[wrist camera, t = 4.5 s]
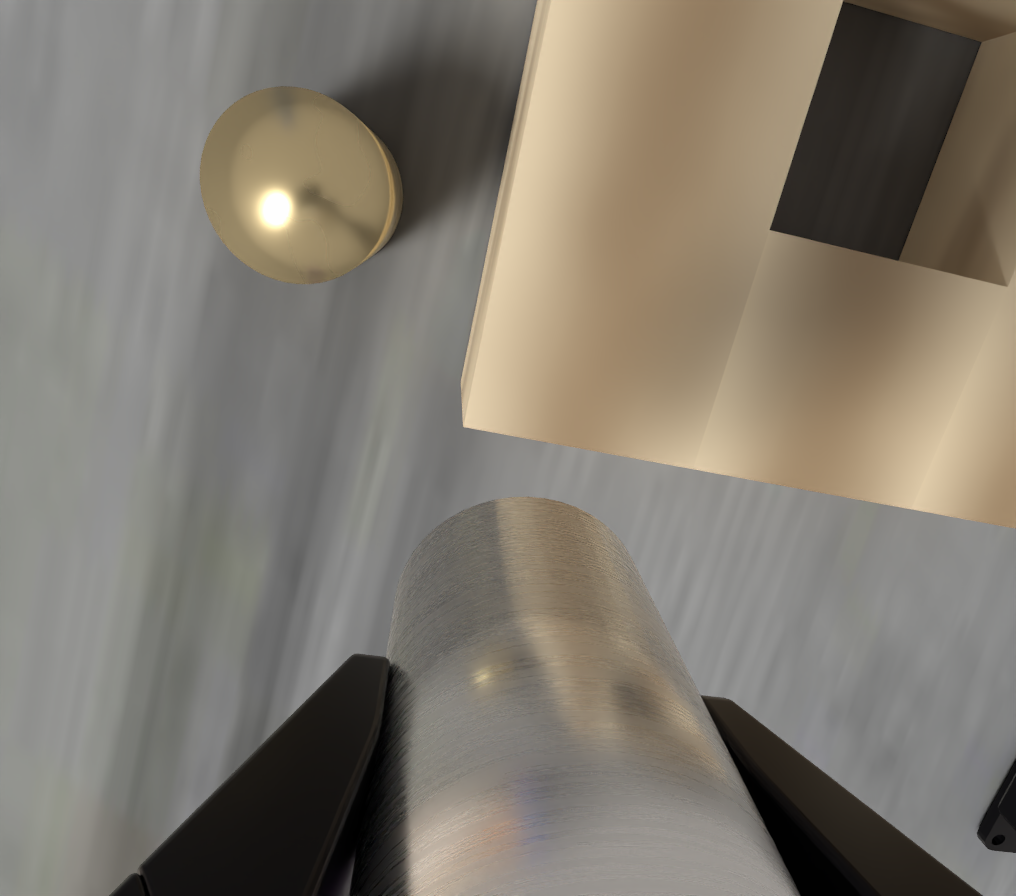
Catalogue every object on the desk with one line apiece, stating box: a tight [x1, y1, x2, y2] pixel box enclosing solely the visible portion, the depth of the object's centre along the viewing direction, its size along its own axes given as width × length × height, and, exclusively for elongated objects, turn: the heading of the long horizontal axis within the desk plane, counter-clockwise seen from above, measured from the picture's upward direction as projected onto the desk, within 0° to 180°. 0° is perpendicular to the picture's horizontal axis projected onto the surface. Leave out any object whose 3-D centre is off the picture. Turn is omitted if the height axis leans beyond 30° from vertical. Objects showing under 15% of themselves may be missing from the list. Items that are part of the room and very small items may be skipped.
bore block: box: [461, 0, 1016, 528], centre depth 15 cm, size 16×16×4 cm
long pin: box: [349, 497, 801, 896], centre depth 6 cm, size 4×4×8 cm
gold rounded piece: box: [200, 86, 403, 284], centre depth 15 cm, size 4×4×4 cm
